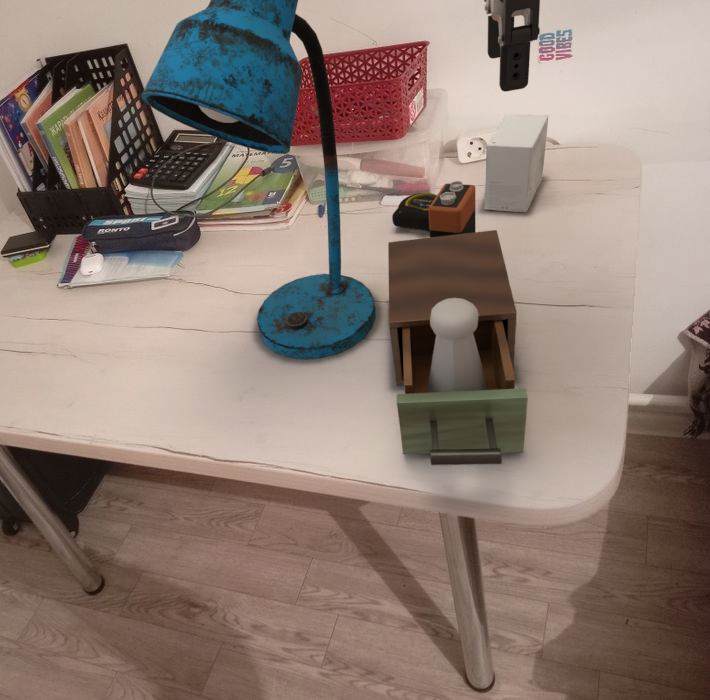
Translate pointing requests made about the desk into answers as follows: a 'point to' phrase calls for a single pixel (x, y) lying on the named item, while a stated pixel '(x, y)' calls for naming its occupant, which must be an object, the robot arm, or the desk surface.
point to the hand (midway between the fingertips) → (506, 71)
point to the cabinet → (447, 283)
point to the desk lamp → (266, 146)
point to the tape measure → (414, 212)
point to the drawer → (461, 403)
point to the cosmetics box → (515, 162)
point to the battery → (453, 210)
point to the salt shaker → (455, 348)
